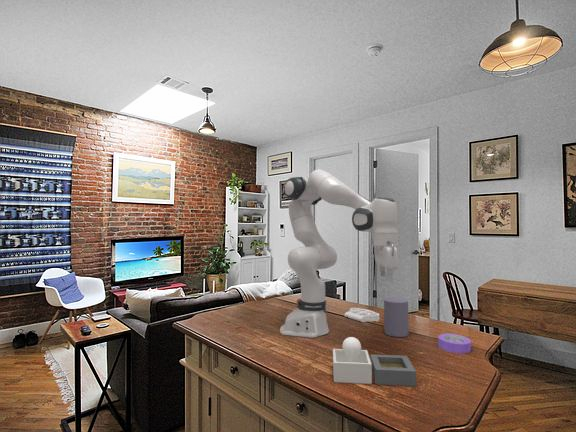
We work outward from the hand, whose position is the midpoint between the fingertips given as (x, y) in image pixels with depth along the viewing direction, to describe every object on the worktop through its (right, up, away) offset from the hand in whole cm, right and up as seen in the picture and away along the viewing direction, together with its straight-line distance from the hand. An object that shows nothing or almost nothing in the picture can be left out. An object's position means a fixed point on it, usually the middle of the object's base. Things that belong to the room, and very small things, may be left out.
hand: (386, 278), depth 124 cm
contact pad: (-3, -27, -15) cm, 31 cm away
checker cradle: (-3, -29, -15) cm, 33 cm away
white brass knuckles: (+3, -31, +52) cm, 60 cm away
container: (+12, -30, +26) cm, 42 cm away
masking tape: (+30, -30, +9) cm, 43 cm away
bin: (-15, -29, -14) cm, 36 cm away
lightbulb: (-15, -28, -14) cm, 35 cm away
